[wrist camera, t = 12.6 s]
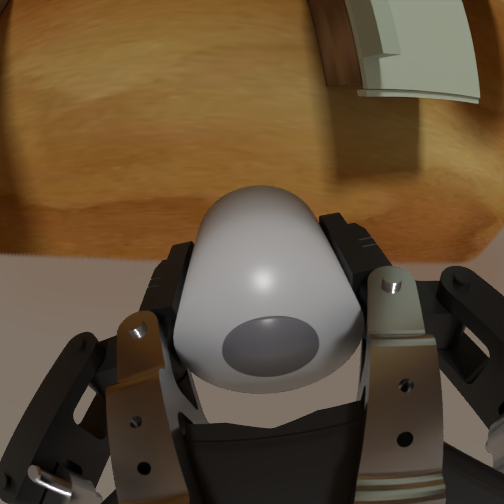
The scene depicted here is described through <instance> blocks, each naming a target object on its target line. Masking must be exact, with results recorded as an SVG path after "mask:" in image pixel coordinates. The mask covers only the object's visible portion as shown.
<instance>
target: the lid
mask: <svg viewBox="0 0 504 504" xmlns="http://www.w3.org/2000/svg"><path fill="white" fill-rule="evenodd" d="M345 4H346V7H347V11H348V15H349V18H350V22H351V26H352V31H353V35H354V39H355V44H356V49H357V54H358V59H359V64H360V70H361V76H362V82H363V89H366V90H357V94H358V96H365V97H420V98H434V99H446V100H455V101H463V102H470V103H477V104H479V100H478V98H480V90H479V80H478V72H477V65H476V58H475V52H474V47H473V42H472V37H471V33H470V29H469V24H468V21H467V17H466V13H465V10H464V6H463V3H462V0H345ZM388 89H405V90H388ZM414 90H421V91H414ZM428 91H433V92H428ZM439 92H443V93H439ZM448 93H451V94H448ZM455 94H459V95H455ZM463 95H465V96H463ZM469 96H472V97H469ZM474 97H477V98H474Z"/></svg>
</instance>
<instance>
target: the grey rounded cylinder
mask: <svg viewBox="0 0 504 504" xmlns="http://www.w3.org/2000/svg"><path fill="white" fill-rule="evenodd" d="M363 332H364V317H363V312H362V310H361V308H360V305H359V303H358V301H357V299H356V296H355V294H354V292H353V290H352V288H351V286H350V284H349V282H348V280H347V277H346V275H345V273H344V271H343V269H342V267H341V265H340V263H339V261H338V259H337V257H336V255H335V253H334V251H333V249H332V247H331V245H330V243H329V242H328V240H327V238H326V236H325V234H324V232H323V230H322V228H321V226H320V224H319V223H318V221H317V219H316V217H315V215H314V213H313V212H312V210H311V209H310V208H309V206H308V205H307V204H306V203H305V202H304V201H303V200H302V199H300V198H299V197H298V196H296V195H294V194H293V193H291V192H289V191H286V190H284V189H281V188H277V187H273V186H265V185H258V186H248V187H244V188H240V189H237V190H234V191H232V192H230V193H228V194H226V195H224V196H223V197H221V198H220V199H219V200H217V201H216V202H215V203H214V204H213V205H212V206H211V207H210V208H209V209H208V211H207V212H206V214H205V215H204V217H203V219H202V221H201V224H200V226H199V230H198V233H197V237H196V241H195V244H194V248H193V252H192V256H191V260H190V264H189V268H188V272H187V276H186V280H185V284H184V288H183V292H182V296H181V301H180V305H179V309H178V314H177V318H176V323H175V328H174V336H173V340H174V347H175V350H176V352H177V355H178V356H179V358H180V360H181V361H182V363H183V364H184V365H185V366H186V367H187V368H188V369H189V370H190V371H191V372H192V373H193V374H195V375H196V376H198V377H199V378H201V379H202V380H204V381H206V382H208V383H210V384H213V385H215V386H217V387H221V388H224V389H227V390H231V391H236V392H242V393H254V394H265V393H277V392H284V391H289V390H294V389H298V388H301V387H304V386H307V385H310V384H312V383H315V382H317V381H319V380H321V379H323V378H325V377H327V376H328V375H330V374H331V373H333V372H334V371H336V370H337V369H339V368H340V367H341V366H342V365H343V364H344V363H345V362H346V361H347V360H348V359H349V358H350V357H351V356H352V355H353V353H354V352H355V350H356V349H357V347H358V346H359V344H360V341H361V339H362V336H363Z"/></svg>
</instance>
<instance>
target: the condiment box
mask: <svg viewBox="0 0 504 504" xmlns="http://www.w3.org/2000/svg"><path fill="white" fill-rule="evenodd" d="M308 4H309V8H310V11H311V15H312V19H313V23H314V27H315V31H316V35H317V40H318V44H319V49H320V54H321V58H322V63H323V69H324V74H325V79H326V85H327V86H340V85H363V82H362V76H361V70H360V64H359V59H358V54H357V49H356V44H355V39H354V35H353V31H352V26H351V22H350V18H349V15H348V11H347V7H346V4H345V0H308Z"/></svg>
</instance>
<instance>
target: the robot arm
mask: <svg viewBox="0 0 504 504" xmlns="http://www.w3.org/2000/svg"><path fill="white" fill-rule="evenodd" d="M7 2H8V0H0V13H1V12H2V10H3V9H4V7H5V5H6V4H7ZM319 224H320V226H321V228H322V230H323V232H324V234H325V236H326V238H327V240H328V242H329V243H330V245H331V247H332V249H333V251H334V253H335V255H336V257H337V259H338V261H339V263H340V265H341V267H342V269H343V271H344V273H345V275H346V277H347V280H348V282H349V284H350V286H351V288H352V290H353V292H354V294H355V296H356V299H357V301H358V303H359V305H360V308H361V310H362V312H363V317H364V332H363V336H362V340H361V355H360V371H359V383H358V392H357V399H356V401H355V402H352V403H348V404H344V405H340V406H336V407H332V408H327V409H322V410H317V411H315V412H313V413H311V414H308V415H306V416H303V417H301V418H299V419H296V420H294V421H292V422H289V423H286V424H284V425H281V426H279V427H276V428H270V429H269V428H259V427H251V426H243V425H237V424H230V423H213V424H209V422H208V421H207V419H206V417H205V415H204V413H203V410H202V407H201V404H200V401H199V397H198V394H197V391H196V388H195V384H194V381H193V377H192V374H191V371H190V370H189V369H188V368H187V367H186V366H185V365H184V364H183V363H182V361H181V360H180V358H179V356H178V355H177V352H176V350H175V347H174V340H173V336H174V328H175V323H176V318H177V314H178V309H179V305H180V301H181V296H182V292H183V288H184V284H185V280H186V276H187V272H188V268H189V264H190V260H191V256H192V252H193V248H194V243H193V242H192V241H190V242H185V243H181V244H176V245H173V246H172V248H171V250H170V253H169V256H168V258H167V259H166V260H162V262H161V263H160V264H159V265H158V266H157V267H156V268H155V270H154V272H153V275H152V277H151V280H150V283H149V285H148V287H149V288H147V290H146V293H145V296H144V298H143V301H142V304H141V306H140V309H139V312H136V313H133V314H132V315H130V316H129V317H127V318H126V319H125V320H124V321H123V322H122V323H121V324H120V326H119V328H118V330H117V335H116V336H114V337H111V338H108V339H106V340H103V341H100V342H99V341H98V340H97V338H96V337H95V336H94V335H93V334H92V333H90V332H83V333H80V334H78V335H76V336H75V337H73V338H72V339H71V340H70V341H69V342H68V344H67V345H66V347H65V348H64V349H63V351H62V353H61V354H60V355H59V357H58V358H57V360H56V361H55V363H54V365H53V366H52V368H51V369H50V371H49V372H48V374H47V375H46V377H45V379H44V380H43V382H42V384H41V385H40V387H39V389H38V390H37V392H36V394H35V395H34V397H33V399H32V401H31V402H30V404H29V406H28V407H27V409H26V411H25V413H24V415H23V416H22V418H21V420H20V422H19V424H18V426H17V428H16V430H15V432H14V434H13V436H12V438H11V440H10V442H9V444H8V446H7V448H6V450H5V452H4V454H3V457H2V459H1V461H0V498H1V499H2V501H4V502H6V503H8V504H504V296H503V295H502V294H500V293H499V292H498V291H497V290H496V289H494V288H493V287H492V286H491V285H490V284H488V283H487V282H486V281H484V280H483V279H482V278H481V277H479V276H478V275H477V274H476V273H474V272H473V271H472V270H470V269H468V268H465V267H462V266H451V267H448V268H446V269H445V270H444V271H443V272H442V274H441V277H440V281H416V280H415V279H414V278H413V276H412V274H411V273H409V272H408V271H407V270H405V269H403V268H400V267H396V266H392V264H391V263H390V262H389V260H388V259H387V257H386V256H385V255H384V253H383V252H382V250H381V249H380V248H379V246H378V245H376V242H375V241H374V240H373V238H371V236H370V234H369V233H368V232H367V230H366V229H365V228H363V227H361V226H360V225H358V224H356V223H351V224H347V223H346V221H345V220H344V218H343V217H342V216H341V214H340V213H333V214H327V215H322V216H320V217H319ZM466 327H467V328H469V329H470V330H471V331H472V332H473V333H474V334H475V335H476V336H477V337H478V338H479V339H480V340H481V341H482V343H483V344H485V346H486V347H487V348H488V350H489V354H490V358H489V357H487V356H486V354H484V352H483V351H482V350H481V349H480V348H479V347H478V346H477V345H476V344H475V343H474V342H473V341H472V340H471V339H470V338H469V337H468V336H467V335H466V334H465V333H464V330H465V328H466ZM440 369H441V371H442V372H443V373H444V374H445V375H446V376H447V378H448V379H449V380H450V381H451V382H452V384H453V385H454V386H455V387H456V388H457V390H458V391H459V392H460V393H461V395H462V396H463V397H464V398H465V400H466V401H467V402H468V403H469V405H470V406H471V407H472V408H473V409H474V411H475V412H476V413H477V415H478V416H479V417H480V419H481V420H482V421H483V422H484V424H485V425H486V426H487V428H488V429H489V433H488V440H487V442H486V446H485V447H486V450H487V452H489V453H492V455H493V468H492V467H490V466H488V465H486V464H484V463H482V462H480V461H478V460H476V459H475V458H473V457H471V456H469V455H467V454H465V453H463V452H462V451H460V450H458V449H456V448H455V447H453V446H451V445H449V444H448V443H445V442H444V441H443V402H442V389H441V377H440ZM88 385H89V386H90V387H91V388H92V389H93V390H94V391H95V392H96V393H97V394H96V396H95V397H94V399H93V401H92V403H91V405H90V407H89V408H88V410H87V412H86V414H85V416H84V418H83V420H82V422H81V423H80V424H78V425H77V424H76V423H75V421H74V419H73V413H74V410H75V408H76V406H77V404H78V402H79V400H80V398H81V397H82V395H83V393H84V392H85V390H86V388H87V386H88ZM110 455H111V462H112V469H113V475H114V481H115V486H116V489H115V490H114V491H113V492H112V493H111V494H110V495H109V496H108V497H107V498H106V499H105V500H104V501H103V499H102V496H101V495H100V494H99V493H98V492H96V490H95V488H96V486H97V484H98V481H99V479H100V477H101V474H102V472H103V469H104V467H105V465H106V463H107V460H108V458H109V456H110Z"/></svg>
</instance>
